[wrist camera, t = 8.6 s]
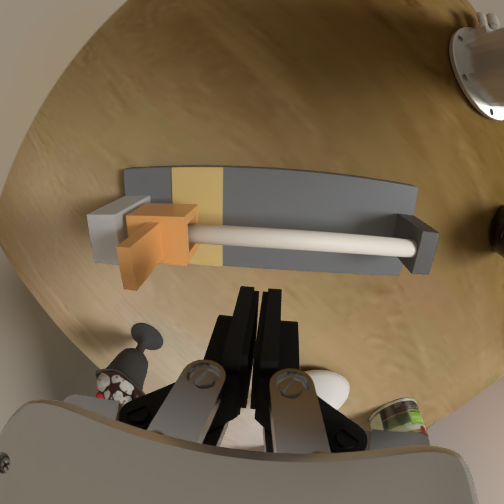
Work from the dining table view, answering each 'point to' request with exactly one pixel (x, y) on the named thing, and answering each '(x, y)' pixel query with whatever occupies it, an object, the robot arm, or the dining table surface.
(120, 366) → the sundae
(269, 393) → the robot arm
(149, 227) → the orange l-shaped block
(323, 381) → the flower in vase
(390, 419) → the coffee can
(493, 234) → the supplement bottle
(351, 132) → the dining table surface
